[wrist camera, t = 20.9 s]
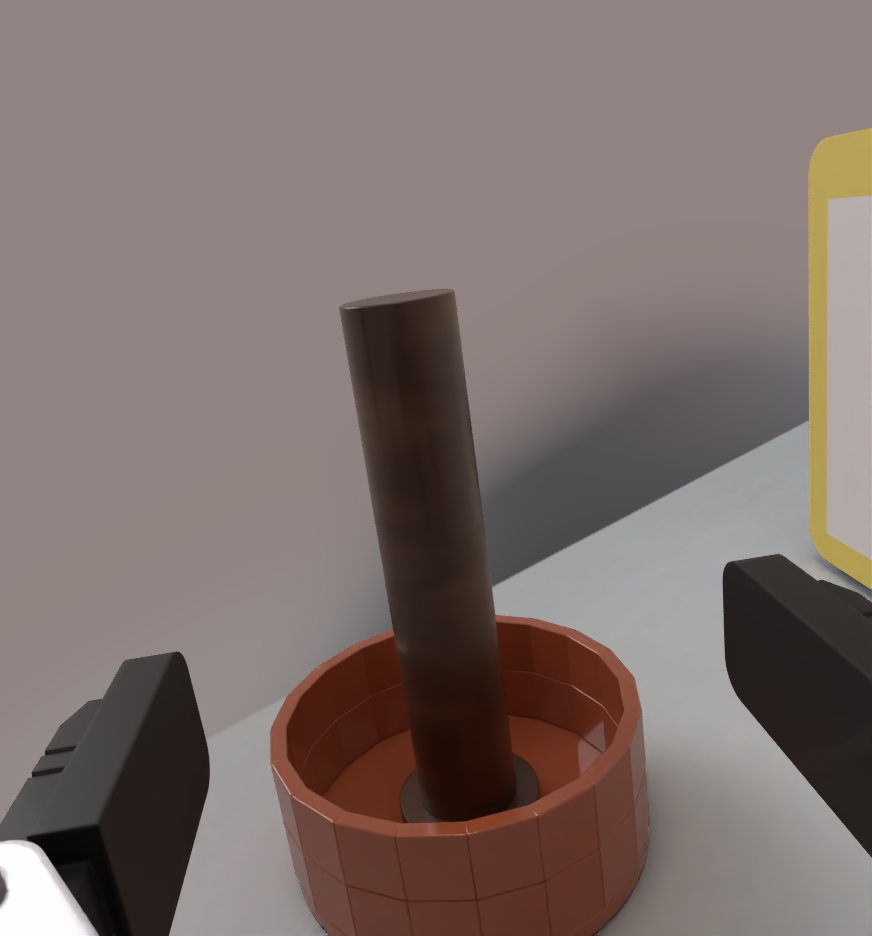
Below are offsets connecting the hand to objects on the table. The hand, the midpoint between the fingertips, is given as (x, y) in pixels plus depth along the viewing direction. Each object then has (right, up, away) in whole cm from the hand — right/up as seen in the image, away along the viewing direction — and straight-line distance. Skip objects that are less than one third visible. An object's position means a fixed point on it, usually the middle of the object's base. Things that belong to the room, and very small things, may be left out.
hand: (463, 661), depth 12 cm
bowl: (+1, -9, +14) cm, 16 cm away
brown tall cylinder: (+1, -8, +13) cm, 16 cm away
